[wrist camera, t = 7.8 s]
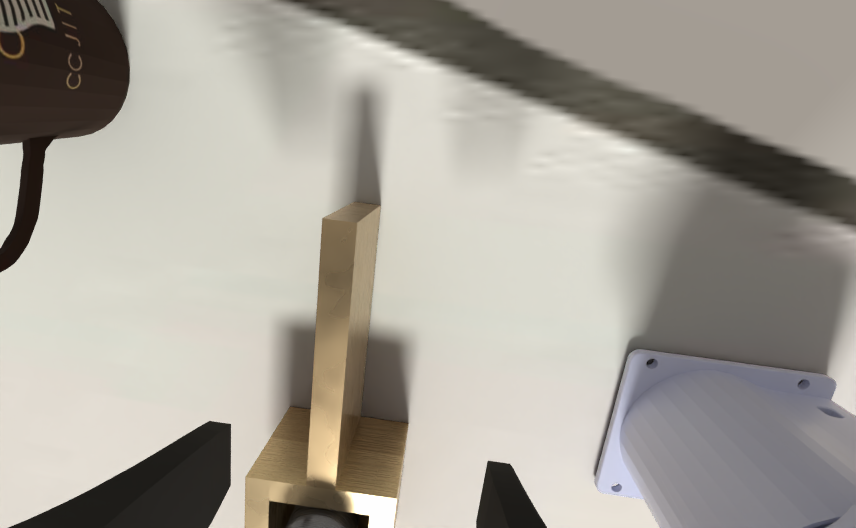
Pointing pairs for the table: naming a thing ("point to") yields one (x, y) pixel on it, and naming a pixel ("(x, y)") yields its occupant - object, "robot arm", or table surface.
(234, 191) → the table surface
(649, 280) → the table surface
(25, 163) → the coffee mug
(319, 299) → the tan wooden bar
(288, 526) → the pin
